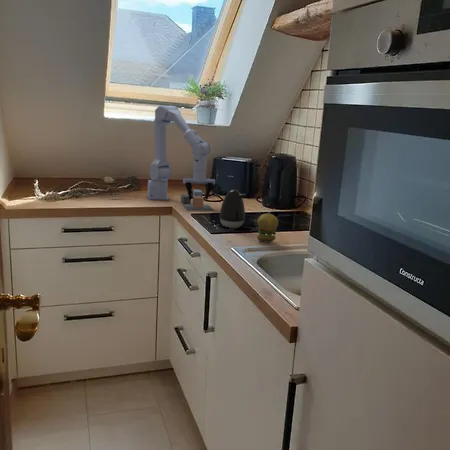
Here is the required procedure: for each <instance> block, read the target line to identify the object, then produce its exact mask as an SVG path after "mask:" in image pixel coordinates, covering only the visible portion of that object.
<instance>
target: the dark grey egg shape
mask: <svg viewBox="0 0 450 450" xmlns="http://www.w3.org/2000/svg"><path fill="white" fill-rule="evenodd" d="M246 196H247V194H246V193H241V192H240V191H239V190H237V189H230V190H228V192H227V193H226V195H225V197H224V199H223V201H222V203H221V206H220V210H219V220H220V224H222V226H223V227H224V226H225V228H226V227H229V228H228V229H231V228H235V229H238V228H240V227H241V226H242V225H243V224H244V222H245V219H246V212H245V211H246V209H245V204H244V199H243V198H244V197H246Z"/></svg>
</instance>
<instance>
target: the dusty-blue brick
mask: <svg viewBox="0 0 450 450" xmlns="http://www.w3.org/2000/svg"><path fill="white" fill-rule="evenodd" d="M193 196H201V197H202V198H203V191H202V190H201V189H193V190H192V197H193Z"/></svg>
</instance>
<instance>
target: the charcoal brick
mask: <svg viewBox="0 0 450 450" xmlns="http://www.w3.org/2000/svg"><path fill="white" fill-rule="evenodd" d="M180 203H181V204H182V205H183V204H192V199H191V200H190V199H189V196H188V193H181V194H180Z"/></svg>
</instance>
